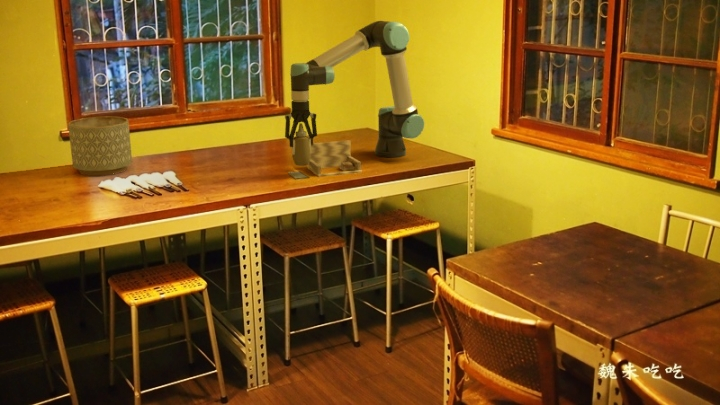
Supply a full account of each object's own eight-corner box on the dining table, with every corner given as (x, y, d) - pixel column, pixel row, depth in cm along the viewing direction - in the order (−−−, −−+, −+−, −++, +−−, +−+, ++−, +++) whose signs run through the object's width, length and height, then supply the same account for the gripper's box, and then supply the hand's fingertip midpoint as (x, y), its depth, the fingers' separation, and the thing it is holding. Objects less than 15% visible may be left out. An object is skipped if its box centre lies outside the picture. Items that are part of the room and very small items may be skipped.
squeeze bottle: (308, 167, 340) (307, 125, 335) (290, 166, 342) (288, 125, 337) (313, 162, 348) (312, 122, 343) (295, 162, 349) (294, 121, 344)
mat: (308, 171, 353) (308, 170, 353) (316, 177, 343) (316, 176, 343) (288, 173, 350) (288, 172, 349) (295, 179, 340) (295, 178, 340)
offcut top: (349, 164, 355) (349, 161, 355) (352, 167, 351) (352, 164, 350) (341, 165, 354) (341, 162, 354) (343, 167, 350) (343, 164, 349)
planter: (63, 170, 357) (57, 122, 351) (113, 161, 375) (109, 114, 368) (91, 180, 340) (86, 129, 334) (143, 169, 358) (139, 120, 352)
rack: (349, 166, 362) (349, 140, 359) (362, 174, 348) (362, 147, 344) (307, 170, 355) (307, 143, 352) (319, 178, 341) (318, 151, 337)
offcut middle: (349, 167, 357) (349, 164, 356) (354, 170, 352) (354, 167, 351) (339, 168, 355) (339, 165, 354) (344, 171, 350) (344, 168, 349)
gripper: (319, 97, 344) (320, 149, 350) (275, 100, 337) (277, 153, 343) (324, 100, 337) (325, 153, 343) (280, 103, 330) (282, 157, 337)
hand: (301, 153), depth 343 cm, fingers closed on squeeze bottle, 6 cm apart
